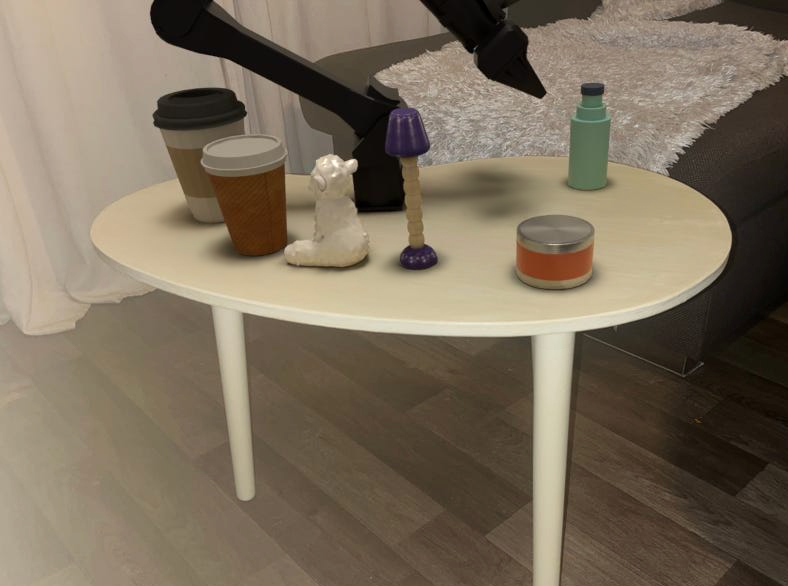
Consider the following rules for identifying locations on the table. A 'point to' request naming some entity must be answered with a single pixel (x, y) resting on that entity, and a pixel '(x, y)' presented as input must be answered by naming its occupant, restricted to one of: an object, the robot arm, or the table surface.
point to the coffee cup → (198, 139)
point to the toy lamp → (411, 180)
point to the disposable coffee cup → (250, 190)
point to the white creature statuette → (332, 219)
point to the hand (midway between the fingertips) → (536, 87)
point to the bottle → (589, 140)
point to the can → (554, 251)
